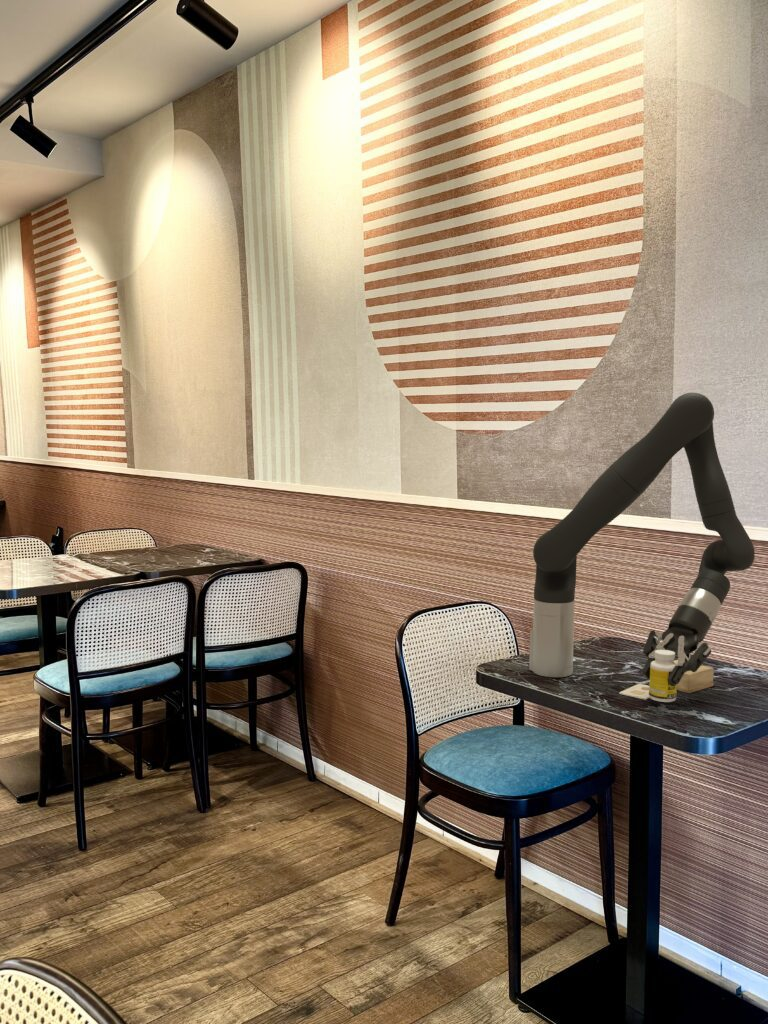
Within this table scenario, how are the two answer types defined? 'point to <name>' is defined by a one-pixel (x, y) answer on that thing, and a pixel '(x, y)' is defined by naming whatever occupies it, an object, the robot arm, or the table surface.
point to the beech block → (696, 679)
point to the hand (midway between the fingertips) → (658, 679)
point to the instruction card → (637, 691)
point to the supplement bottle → (662, 677)
